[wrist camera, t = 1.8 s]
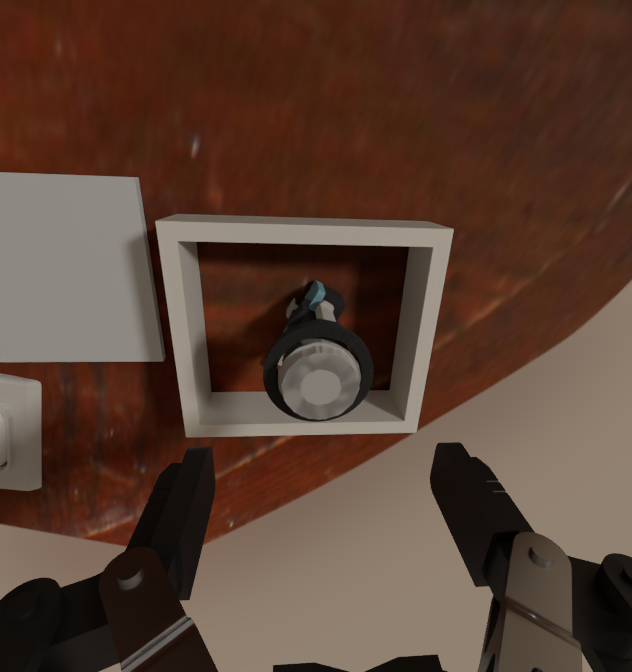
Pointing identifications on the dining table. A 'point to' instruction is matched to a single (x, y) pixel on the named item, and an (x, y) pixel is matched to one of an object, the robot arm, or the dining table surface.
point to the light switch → (20, 433)
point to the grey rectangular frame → (187, 229)
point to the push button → (317, 361)
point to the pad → (76, 271)
